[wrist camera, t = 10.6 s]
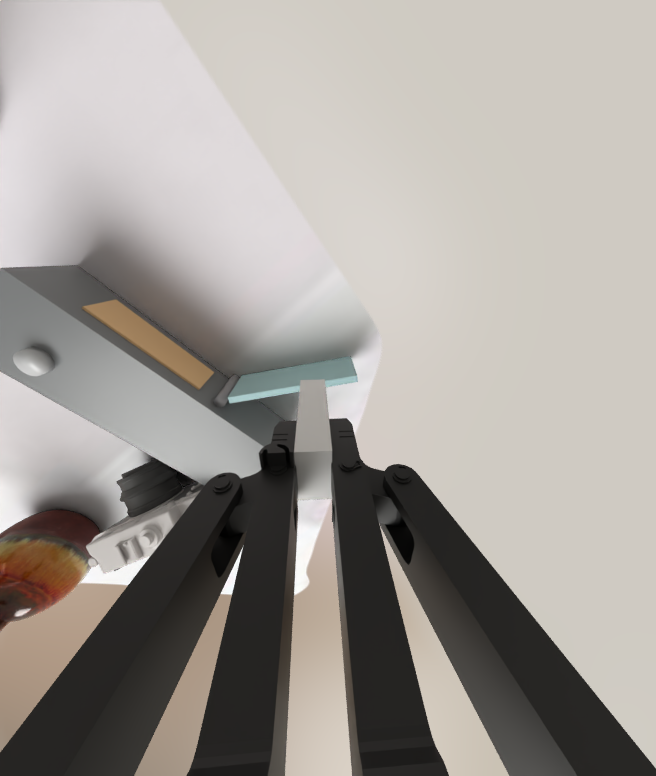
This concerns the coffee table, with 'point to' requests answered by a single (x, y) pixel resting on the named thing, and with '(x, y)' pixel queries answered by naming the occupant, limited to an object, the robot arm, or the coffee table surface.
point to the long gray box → (124, 373)
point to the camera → (142, 516)
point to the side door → (285, 380)
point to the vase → (42, 562)
